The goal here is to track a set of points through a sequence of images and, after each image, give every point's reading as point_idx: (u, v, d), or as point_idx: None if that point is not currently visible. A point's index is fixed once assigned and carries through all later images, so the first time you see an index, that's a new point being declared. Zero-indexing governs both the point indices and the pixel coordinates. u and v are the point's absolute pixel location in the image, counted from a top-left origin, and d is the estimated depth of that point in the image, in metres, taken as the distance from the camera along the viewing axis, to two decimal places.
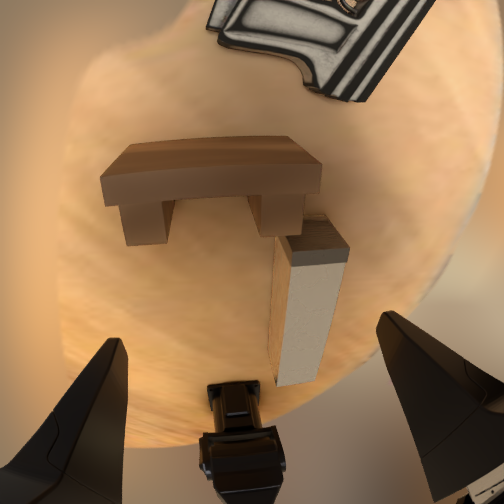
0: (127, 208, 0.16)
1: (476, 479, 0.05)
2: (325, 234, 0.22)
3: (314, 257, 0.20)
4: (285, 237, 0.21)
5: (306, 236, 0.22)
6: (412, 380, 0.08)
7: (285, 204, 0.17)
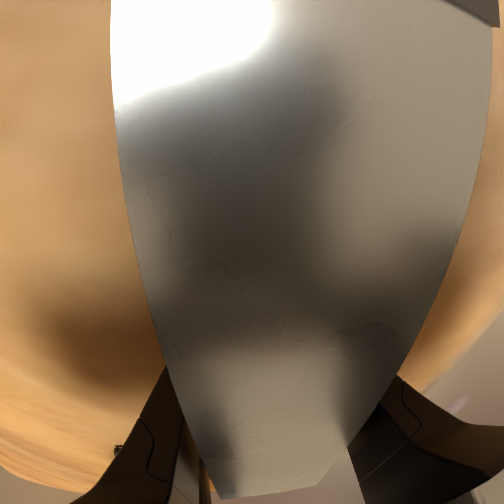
0: None
1: None
2: None
3: None
4: None
5: None
6: None
7: None
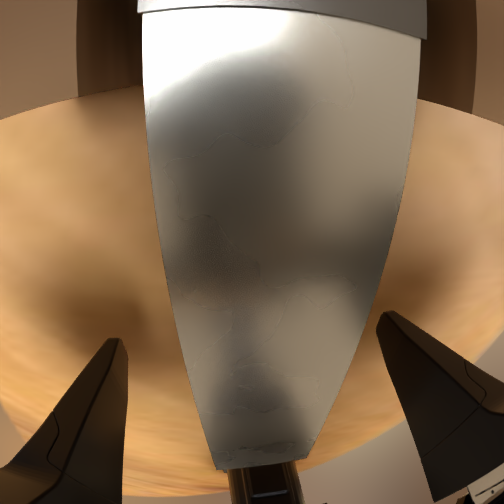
0: None
1: (476, 479, 0.05)
2: None
3: None
4: None
5: None
6: (412, 380, 0.08)
7: None
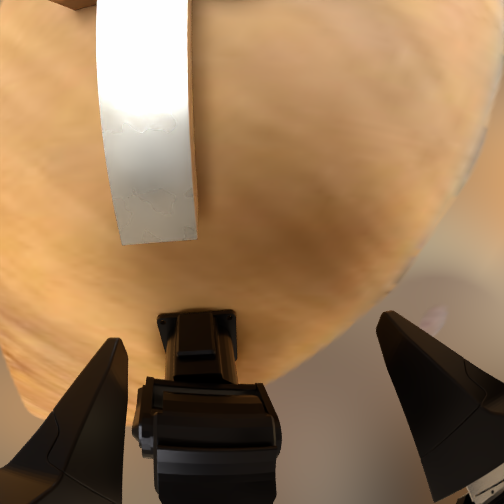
0: None
1: (476, 479, 0.05)
2: None
3: None
4: None
5: None
6: (412, 380, 0.08)
7: None
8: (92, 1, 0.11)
